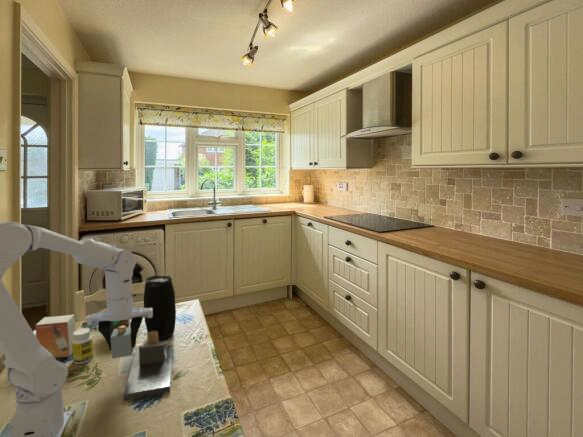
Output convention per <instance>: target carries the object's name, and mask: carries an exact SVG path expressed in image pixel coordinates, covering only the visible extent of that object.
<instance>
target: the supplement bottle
mask: <svg viewBox="0 0 583 437" xmlns="http://www.w3.org/2000/svg"><path fill="white" fill-rule="evenodd" d="M72 350H73V352H72V361H73V363H74V364H76V365H81V364H85V363H88V362H90V361H91V360H93V357H94V348H93V336H92V335H91V330H90V329H89V328H81V329H78V330H77V329H76V331H75V332H74V333H73V340H72Z"/></svg>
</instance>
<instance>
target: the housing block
mask: <svg viewBox="0 0 583 437" xmlns="http://www.w3.org/2000/svg"><path fill="white" fill-rule="evenodd" d="M134 349H135V347H132V335H131V327H130V326H129V327H127V328H126V326H120V327H118V329H114V331H113V333H112V335H111V359H116V358H117V359H119V358H124V357H131V356H132V355H133V352H134Z"/></svg>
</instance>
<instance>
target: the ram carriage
mask: <svg viewBox="0 0 583 437" xmlns="http://www.w3.org/2000/svg"><path fill="white" fill-rule="evenodd" d="M146 335H147V336H146V337H147V338H146V339H147V344H146V345H140V346H139V347H138V350H139V359H140V365H146V364H153V363H159V362H164V344H165V343H164V342H161V343H159V342H160V341H159V340H158V331H150V332H148V333H147V332H146Z"/></svg>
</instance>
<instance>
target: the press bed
mask: <svg viewBox="0 0 583 437" xmlns="http://www.w3.org/2000/svg"><path fill="white" fill-rule="evenodd" d="M173 356H174V344H173V345H172V344H170V345H168V344H167V343H164V362H159V363H153V364H146V365H140V359H139V349H136V351H135V354H134V358H133V362H132V365H131V368H130V372H129V376H128V378H127V383H126V386H125V389H124V392H123V401H129V400H133V399H140V398H145V397H151V396H155V395H160V394H168V393H171V385H172V371H173V358H174V357H173Z"/></svg>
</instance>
